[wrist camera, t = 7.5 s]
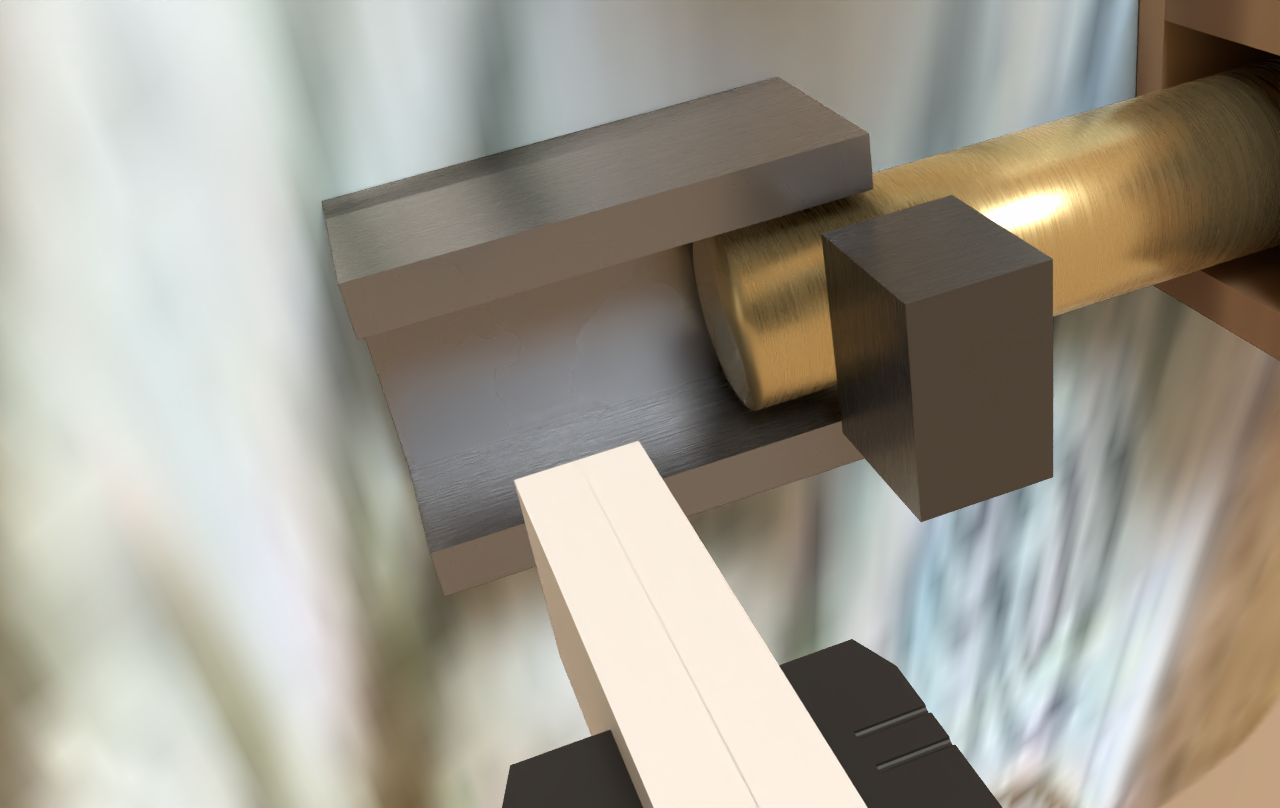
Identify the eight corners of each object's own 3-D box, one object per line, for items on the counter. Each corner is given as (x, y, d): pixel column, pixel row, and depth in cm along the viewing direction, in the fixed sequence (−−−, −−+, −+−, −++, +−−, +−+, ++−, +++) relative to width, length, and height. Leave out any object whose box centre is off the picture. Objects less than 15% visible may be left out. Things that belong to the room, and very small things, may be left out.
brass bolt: (710, 367, 25) (847, 547, 20) (679, 186, 23) (822, 329, 18) (1257, 198, 27) (1521, 317, 22) (1274, 18, 25) (1571, 98, 20)
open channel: (416, 483, 26) (444, 596, 22) (322, 201, 22) (338, 283, 19) (811, 359, 27) (894, 448, 24) (777, 77, 24) (868, 133, 20)
